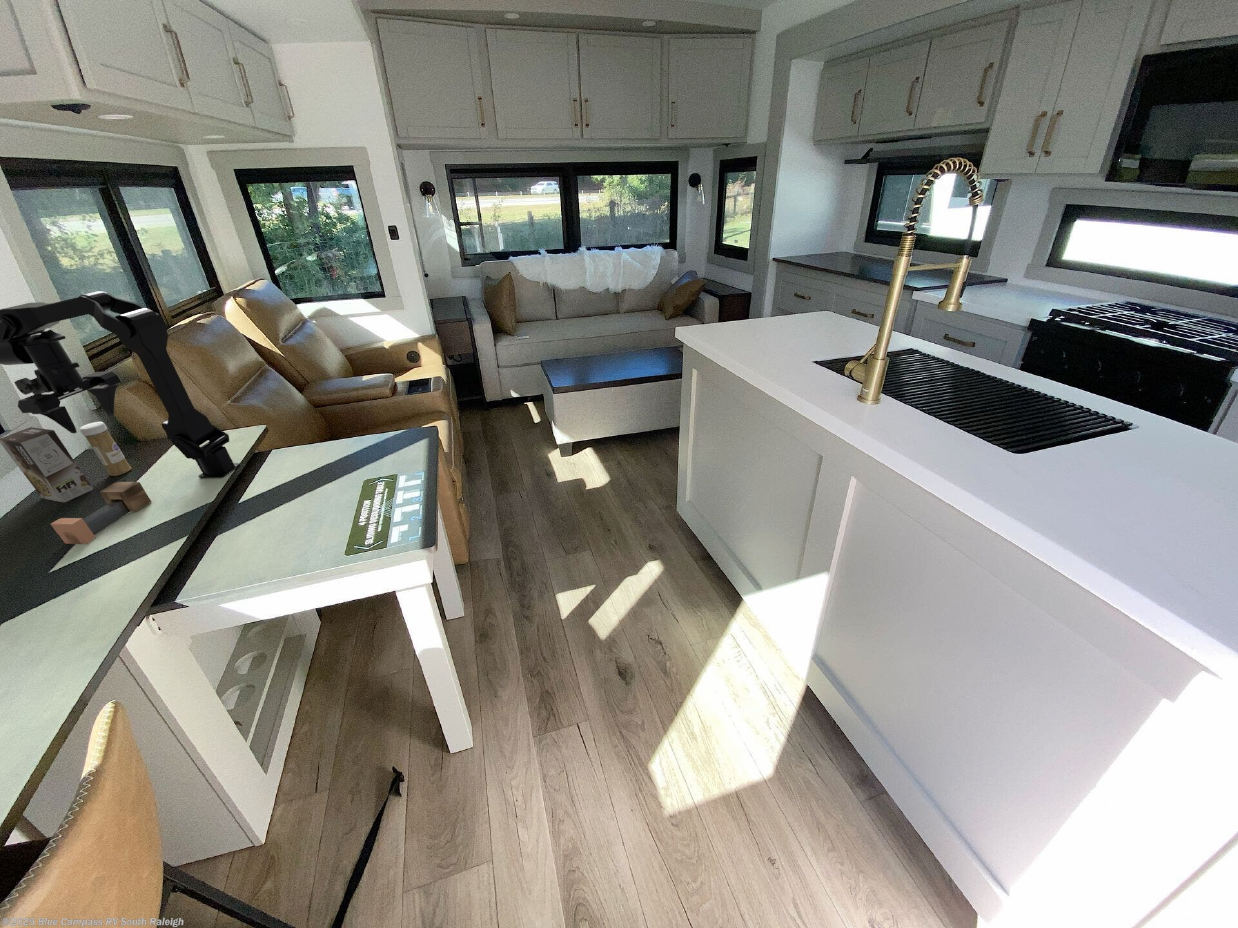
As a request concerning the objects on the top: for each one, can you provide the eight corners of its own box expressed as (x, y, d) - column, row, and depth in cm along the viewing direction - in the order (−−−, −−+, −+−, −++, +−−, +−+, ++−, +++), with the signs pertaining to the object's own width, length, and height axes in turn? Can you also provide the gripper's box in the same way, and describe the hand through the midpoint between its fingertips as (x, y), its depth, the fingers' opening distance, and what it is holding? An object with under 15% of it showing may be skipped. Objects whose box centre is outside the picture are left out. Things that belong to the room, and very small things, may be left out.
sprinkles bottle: (130, 472, 132) (101, 425, 125) (108, 478, 130) (76, 430, 123) (133, 465, 135) (104, 419, 128) (111, 471, 133) (80, 424, 126)
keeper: (128, 501, 119) (116, 481, 116) (151, 501, 118) (139, 481, 116) (112, 511, 116) (99, 491, 113) (135, 511, 115) (123, 491, 112)
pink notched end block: (74, 537, 108) (60, 518, 105) (96, 537, 107) (82, 518, 105) (65, 543, 106) (50, 524, 104) (86, 543, 106) (72, 524, 103)
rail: (139, 499, 120) (132, 488, 118) (149, 499, 120) (142, 488, 118) (70, 543, 106) (62, 531, 105) (81, 543, 106) (72, 532, 104)
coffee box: (95, 489, 125) (55, 429, 117) (63, 503, 120) (19, 442, 112) (72, 484, 128) (31, 425, 120) (40, 498, 123) (-5, 438, 115)
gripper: (64, 350, 125) (101, 409, 133) (-26, 378, 109) (22, 443, 117) (104, 348, 124) (139, 408, 132) (19, 376, 108) (65, 442, 116)
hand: (93, 424), depth 124 cm, fingers open, 9 cm apart
